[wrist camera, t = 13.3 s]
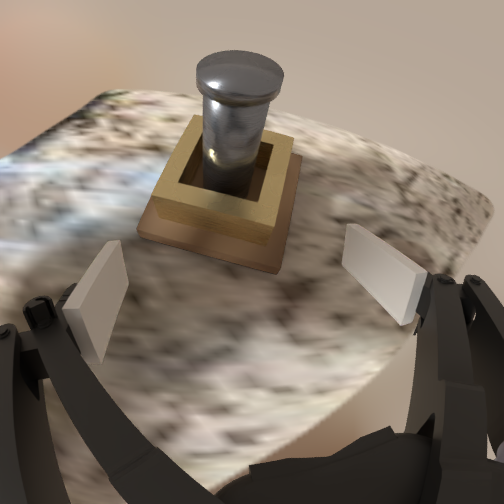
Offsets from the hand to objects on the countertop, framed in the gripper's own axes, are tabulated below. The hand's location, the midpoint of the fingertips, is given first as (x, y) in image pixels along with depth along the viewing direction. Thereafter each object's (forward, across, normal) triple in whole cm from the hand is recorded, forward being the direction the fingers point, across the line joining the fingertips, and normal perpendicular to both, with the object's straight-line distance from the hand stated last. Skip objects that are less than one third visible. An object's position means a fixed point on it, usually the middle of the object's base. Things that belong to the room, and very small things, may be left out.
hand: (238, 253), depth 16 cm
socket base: (+11, 0, +1) cm, 11 cm away
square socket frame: (+10, 0, +2) cm, 10 cm away
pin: (+10, 0, +2) cm, 10 cm away
